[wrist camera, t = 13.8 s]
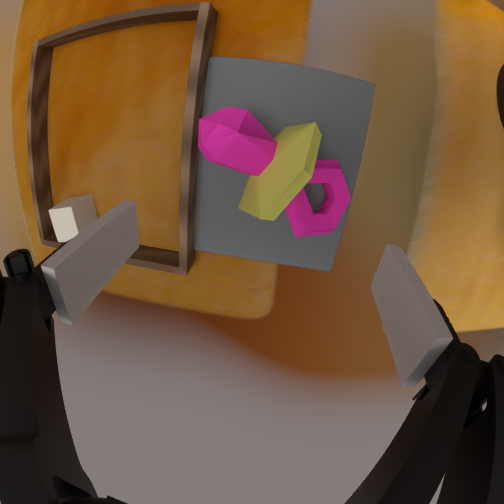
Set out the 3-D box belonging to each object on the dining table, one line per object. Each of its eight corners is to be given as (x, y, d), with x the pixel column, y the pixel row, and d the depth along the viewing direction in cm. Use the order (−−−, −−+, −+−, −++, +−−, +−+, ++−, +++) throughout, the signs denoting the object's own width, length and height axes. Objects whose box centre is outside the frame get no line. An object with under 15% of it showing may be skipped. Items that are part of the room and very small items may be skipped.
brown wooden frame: (49, 43, 22) (34, 42, 19) (217, 12, 21) (210, 2, 18) (54, 234, 38) (41, 244, 35) (194, 261, 37) (186, 275, 34)
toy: (295, 241, 35) (348, 270, 26) (164, 169, 26) (174, 171, 17) (332, 173, 34) (393, 182, 25) (214, 89, 25) (249, 56, 16)
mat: (210, 57, 24) (209, 56, 24) (374, 84, 24) (375, 83, 23) (194, 248, 36) (193, 249, 36) (329, 270, 36) (330, 271, 35)
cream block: (69, 197, 34) (48, 209, 30) (92, 193, 34) (71, 206, 29) (77, 227, 37) (58, 242, 32) (100, 225, 36) (81, 241, 32)
